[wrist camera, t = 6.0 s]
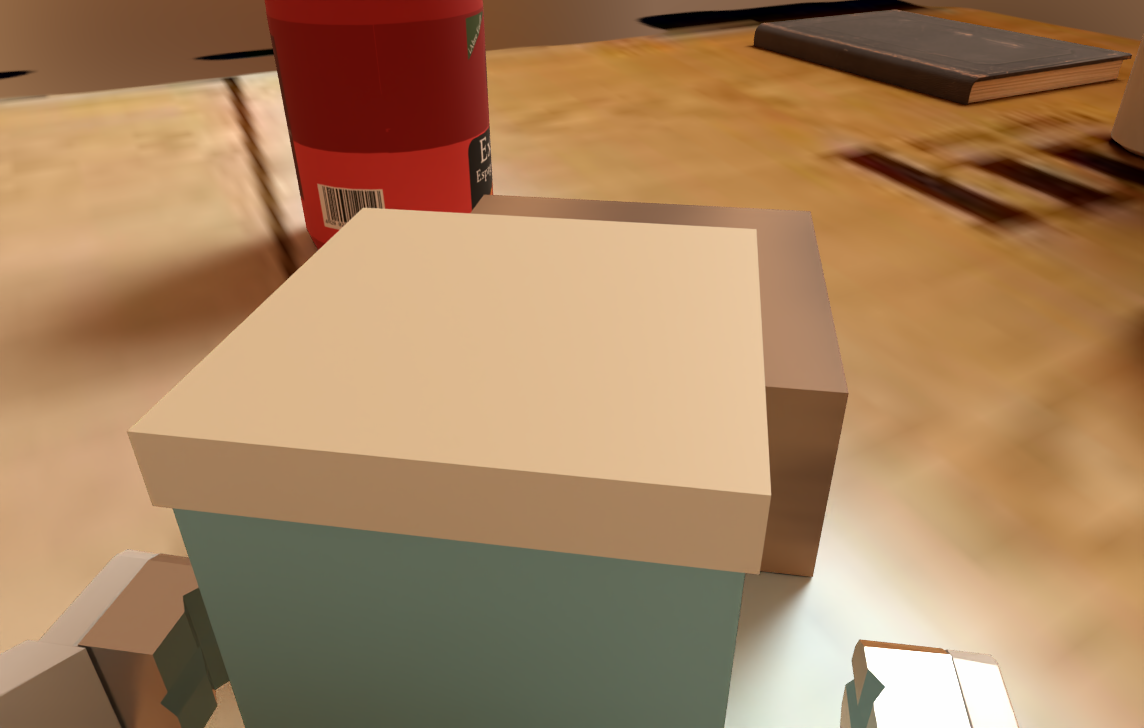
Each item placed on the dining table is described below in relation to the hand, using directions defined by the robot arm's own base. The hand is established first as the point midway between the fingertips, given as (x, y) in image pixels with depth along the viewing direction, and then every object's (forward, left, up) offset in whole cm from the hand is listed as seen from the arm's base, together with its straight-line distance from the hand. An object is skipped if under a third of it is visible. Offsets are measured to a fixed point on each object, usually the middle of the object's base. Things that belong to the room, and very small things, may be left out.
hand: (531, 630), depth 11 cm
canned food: (-11, +25, -6) cm, 28 cm away
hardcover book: (+18, +66, -6) cm, 69 cm away
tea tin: (0, 0, -5) cm, 6 cm away
